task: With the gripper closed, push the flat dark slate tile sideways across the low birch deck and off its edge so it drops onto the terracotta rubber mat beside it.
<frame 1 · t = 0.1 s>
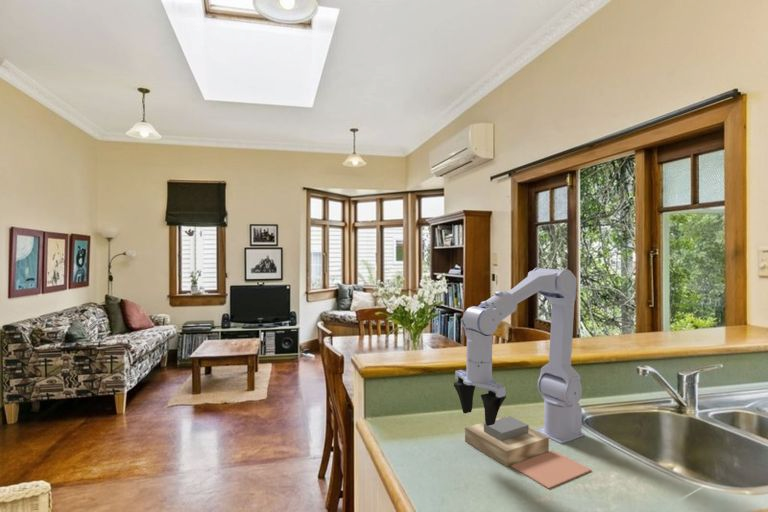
hand: (478, 418, 99), 10 cm above the counter, tool pointing down, fingers open, 7 cm apart
birch deck: (505, 446, 106), on the counter
slate tile: (506, 432, 106), point 3 cm above the counter, touching birch deck
terracotta mat: (551, 468, 95), on the counter
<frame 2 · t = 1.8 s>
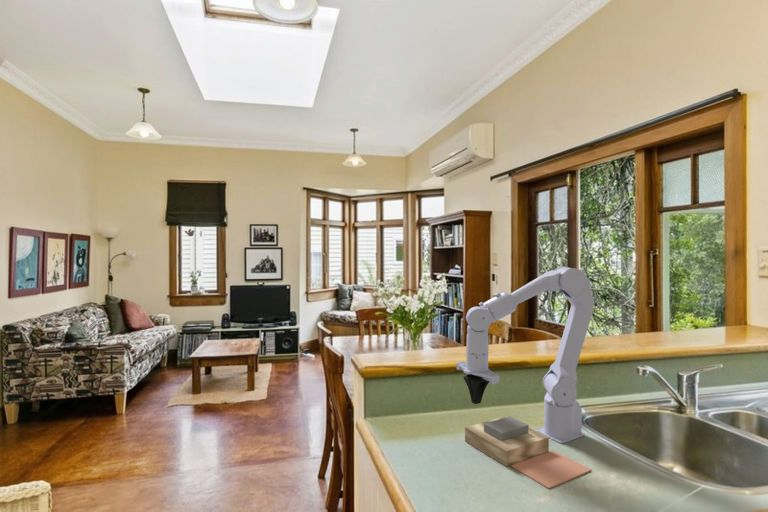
hand: (476, 402, 115), 7 cm above the counter, tool pointing down, fingers closed
nothing on the counter moved.
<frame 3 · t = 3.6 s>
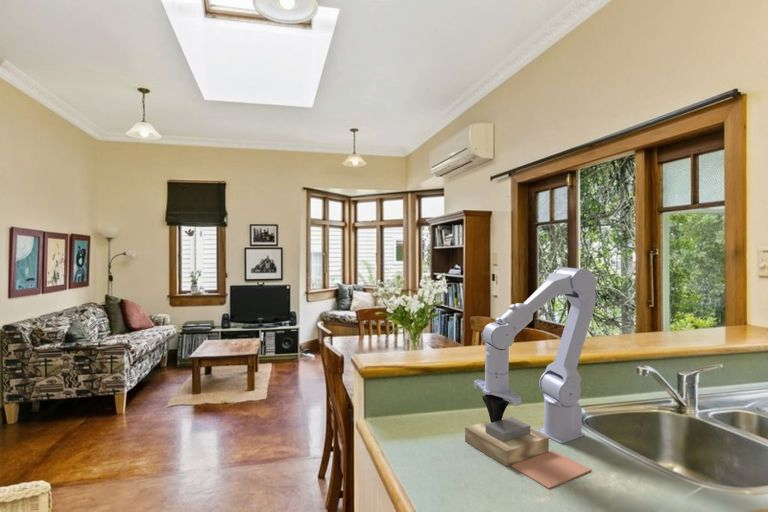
hand: (495, 424, 109), 4 cm above the counter, tool pointing down, fingers closed
slate tile: (507, 433, 105), point 4 cm above the counter, touching gripper
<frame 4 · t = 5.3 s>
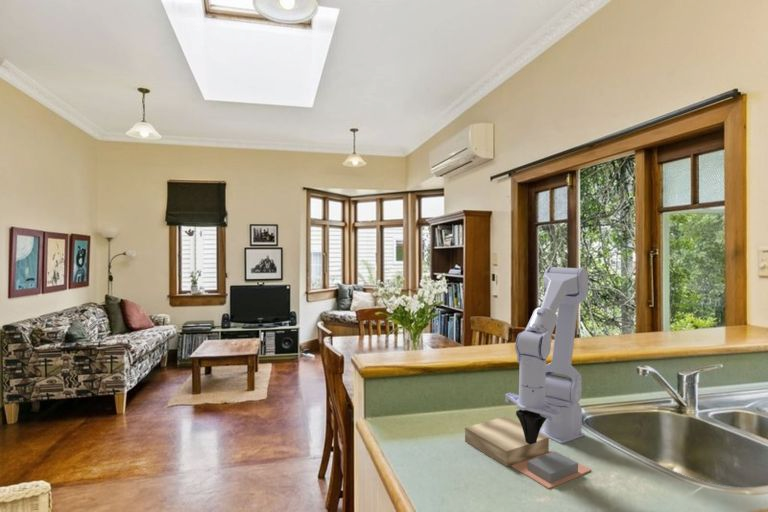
hand: (531, 442, 99), 4 cm above the counter, tool pointing down, fingers closed
slate tile: (552, 462, 94), point 2 cm above the counter, tilted 180°, touching terracotta mat
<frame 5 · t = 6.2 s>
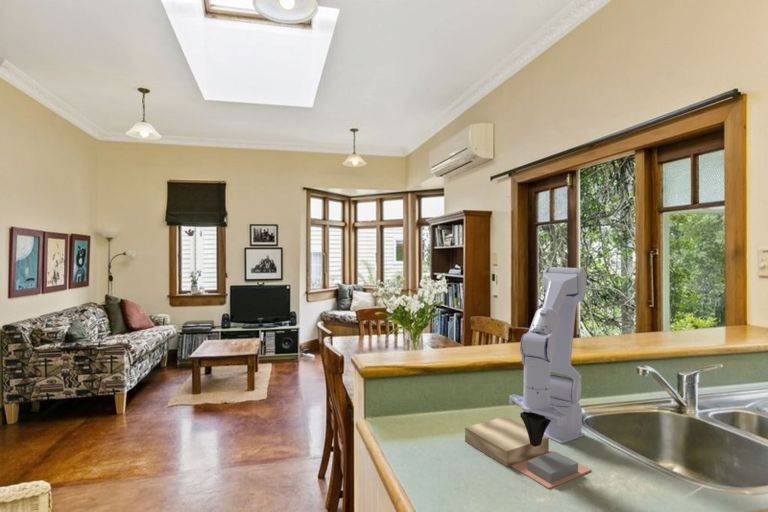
hand: (535, 444, 98), 4 cm above the counter, tool pointing down, fingers closed
nothing on the counter moved.
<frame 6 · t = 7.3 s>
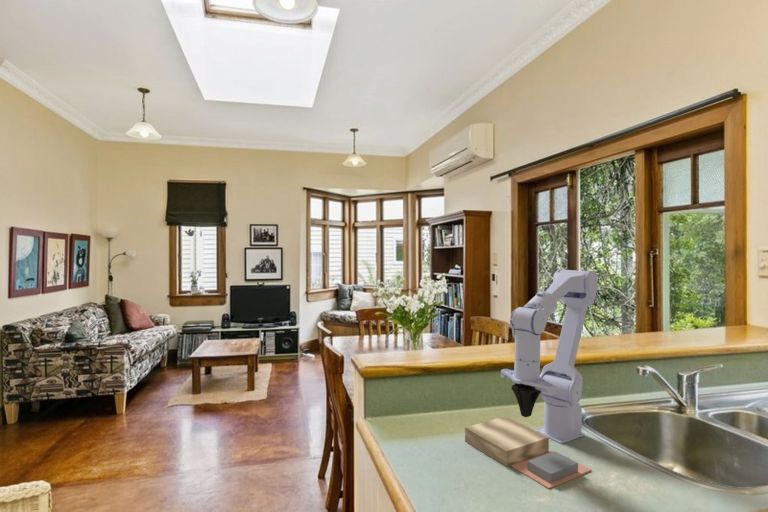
hand: (526, 415, 101), 9 cm above the counter, tool pointing down, fingers closed
nothing on the counter moved.
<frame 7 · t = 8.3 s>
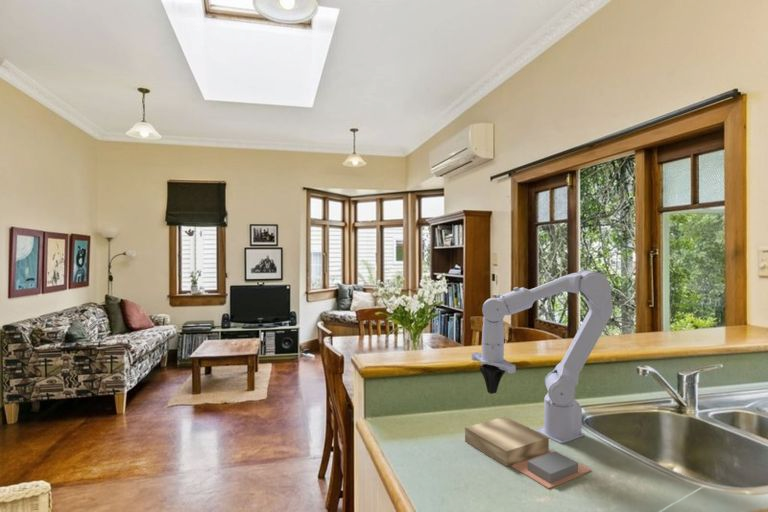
hand: (492, 392, 117), 9 cm above the counter, tool pointing down, fingers closed
nothing on the counter moved.
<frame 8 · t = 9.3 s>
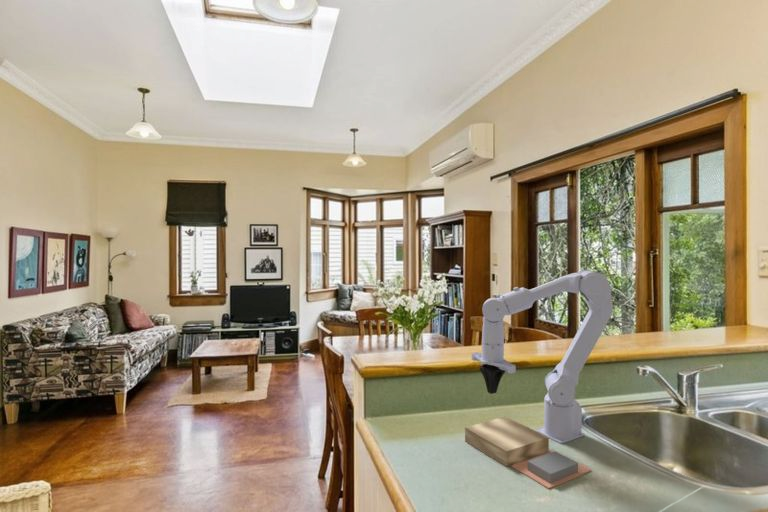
hand: (492, 392, 117), 9 cm above the counter, tool pointing down, fingers closed
nothing on the counter moved.
at the end: slate tile inside the target area (1.4 cm from its centre), point 2.3 cm above the counter; slate tile touching terracotta mat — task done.
